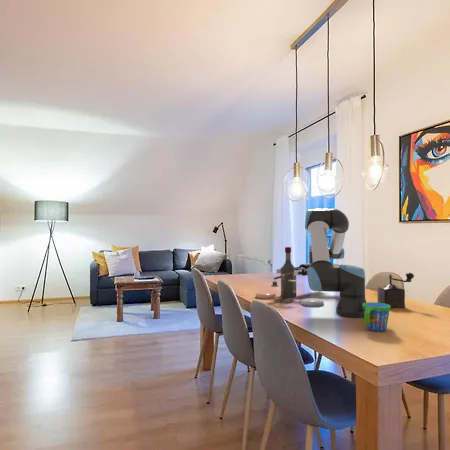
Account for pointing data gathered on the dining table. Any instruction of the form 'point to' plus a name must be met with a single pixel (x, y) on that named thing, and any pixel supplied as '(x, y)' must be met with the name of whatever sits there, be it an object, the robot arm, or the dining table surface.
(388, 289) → the manual coffee grinder
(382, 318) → the snack cup
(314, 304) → the grey dish
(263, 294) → the terracotta dish
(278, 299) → the balance
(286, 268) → the liquor
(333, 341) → the dining table surface
